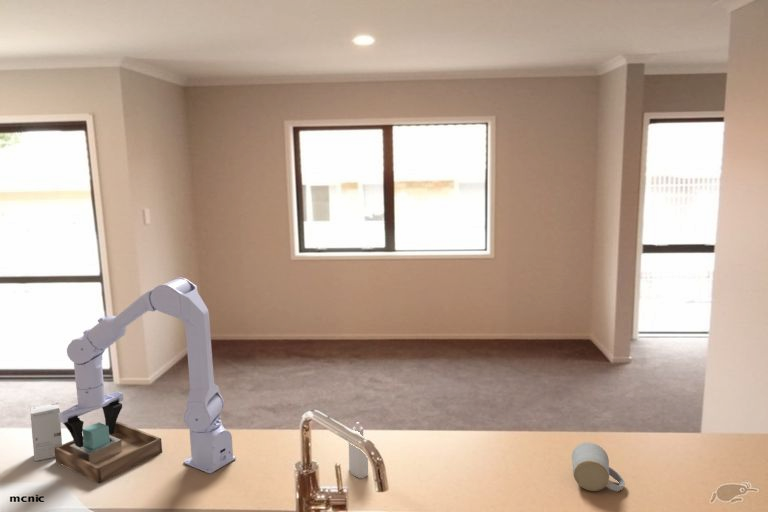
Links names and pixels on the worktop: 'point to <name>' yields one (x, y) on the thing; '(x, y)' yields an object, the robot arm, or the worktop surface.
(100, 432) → the teal plug
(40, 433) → the skincare box
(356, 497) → the worktop surface
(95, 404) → the robot arm
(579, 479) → the ceramic mug
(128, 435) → the walnut tray
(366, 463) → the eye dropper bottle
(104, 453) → the metal socket
